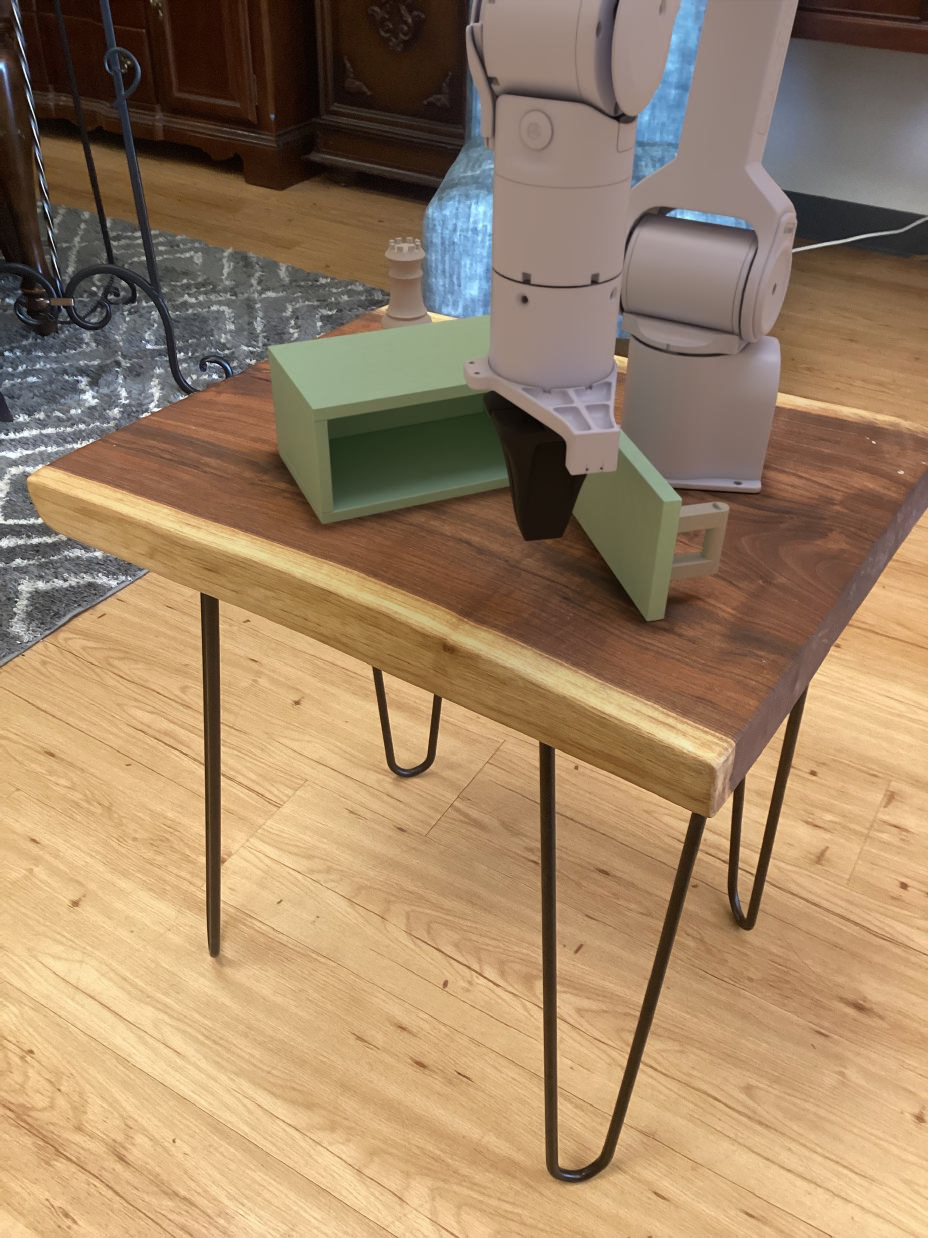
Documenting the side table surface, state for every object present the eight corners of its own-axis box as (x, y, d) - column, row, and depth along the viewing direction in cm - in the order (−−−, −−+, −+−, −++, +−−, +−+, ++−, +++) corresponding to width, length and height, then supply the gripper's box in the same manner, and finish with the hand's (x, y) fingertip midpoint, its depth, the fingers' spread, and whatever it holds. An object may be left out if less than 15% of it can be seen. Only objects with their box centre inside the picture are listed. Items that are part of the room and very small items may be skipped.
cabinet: (552, 478, 68) (560, 367, 63) (322, 525, 63) (312, 409, 58) (489, 416, 75) (492, 313, 71) (278, 454, 70) (267, 345, 66)
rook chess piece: (370, 343, 86) (365, 244, 81) (397, 326, 89) (395, 230, 85) (417, 353, 84) (415, 253, 80) (443, 335, 88) (443, 238, 83)
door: (616, 474, 68) (627, 368, 64) (724, 610, 56) (747, 490, 52) (551, 482, 67) (558, 375, 63) (646, 622, 55) (663, 501, 51)
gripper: (437, 222, 50) (438, 472, 58) (505, 333, 39) (495, 624, 47) (577, 216, 51) (560, 461, 60) (683, 321, 40) (644, 607, 48)
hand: (540, 532), depth 53 cm, fingers closed
